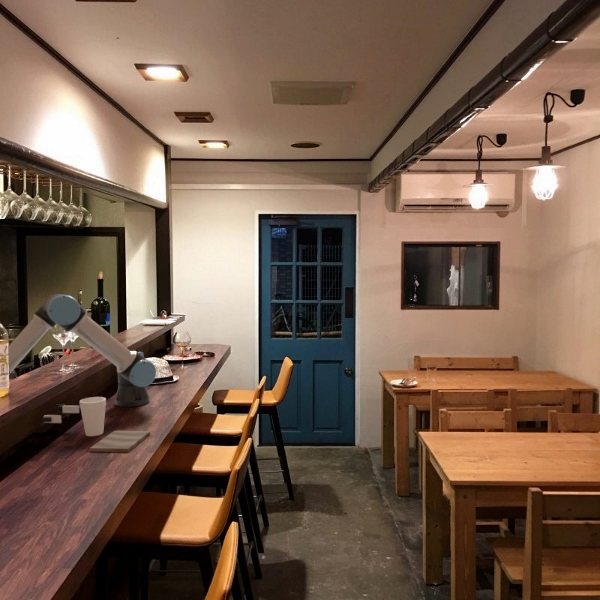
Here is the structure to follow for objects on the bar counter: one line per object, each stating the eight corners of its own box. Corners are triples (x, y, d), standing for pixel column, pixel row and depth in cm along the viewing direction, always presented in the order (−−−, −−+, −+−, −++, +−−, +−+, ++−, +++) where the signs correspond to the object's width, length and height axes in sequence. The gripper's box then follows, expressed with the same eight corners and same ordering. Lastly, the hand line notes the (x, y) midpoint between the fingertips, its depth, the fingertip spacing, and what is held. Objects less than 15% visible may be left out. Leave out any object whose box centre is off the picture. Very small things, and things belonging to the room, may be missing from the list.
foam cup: (80, 438, 225) (78, 404, 224) (82, 431, 234) (80, 398, 233) (107, 435, 228) (105, 401, 227) (108, 428, 237) (106, 396, 236)
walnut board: (114, 433, 230) (114, 430, 230) (150, 434, 228) (150, 431, 228) (89, 451, 210) (89, 448, 210) (128, 452, 209) (128, 448, 208)
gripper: (36, 414, 247) (86, 414, 244) (-2, 432, 222) (53, 433, 220) (35, 396, 246) (85, 396, 244) (-3, 412, 222) (51, 413, 219)
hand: (70, 414), depth 232 cm, fingers open, 13 cm apart
